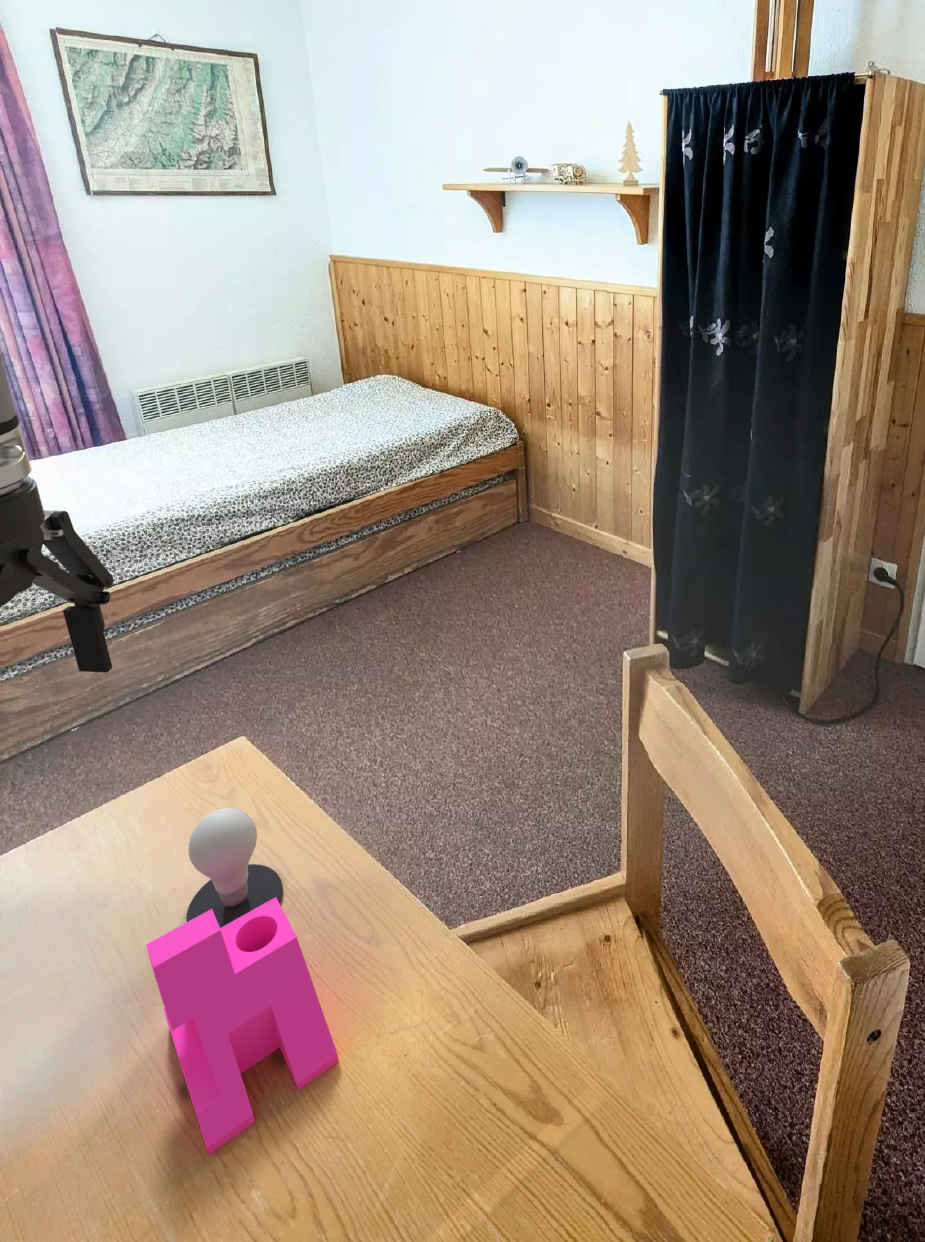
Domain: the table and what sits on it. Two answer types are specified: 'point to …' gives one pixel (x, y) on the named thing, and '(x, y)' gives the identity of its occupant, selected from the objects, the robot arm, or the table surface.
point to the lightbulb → (224, 851)
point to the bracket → (238, 1010)
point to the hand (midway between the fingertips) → (43, 718)
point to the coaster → (260, 891)
